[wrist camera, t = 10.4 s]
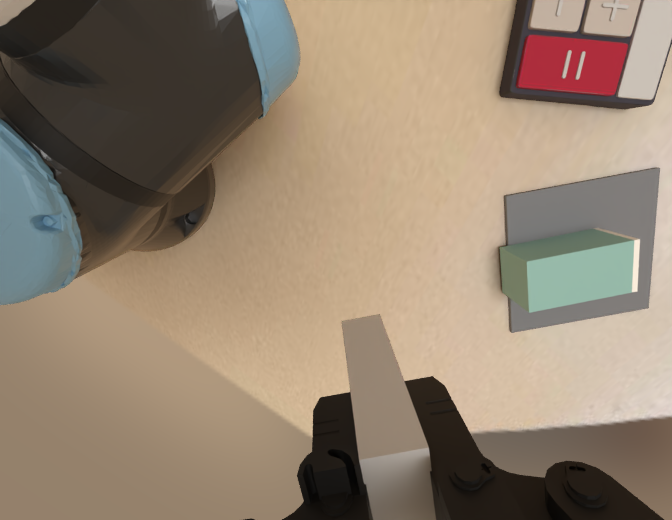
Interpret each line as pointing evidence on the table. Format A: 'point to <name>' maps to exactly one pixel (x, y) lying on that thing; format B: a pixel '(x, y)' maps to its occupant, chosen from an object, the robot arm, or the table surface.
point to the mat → (583, 214)
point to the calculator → (588, 51)
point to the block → (570, 269)
